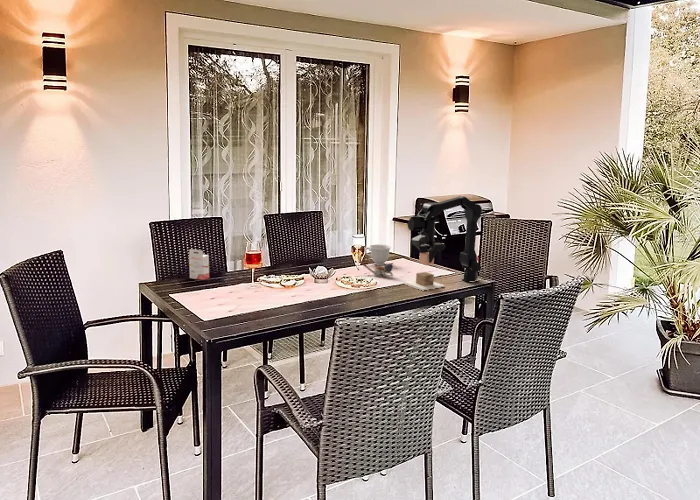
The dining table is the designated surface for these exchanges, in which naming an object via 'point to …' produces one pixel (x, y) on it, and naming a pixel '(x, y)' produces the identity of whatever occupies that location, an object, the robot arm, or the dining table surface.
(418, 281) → the walnut block
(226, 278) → the dining table surface
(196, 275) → the ink cartridge box
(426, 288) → the pad
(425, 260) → the clay block
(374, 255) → the teacup
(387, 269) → the toy
